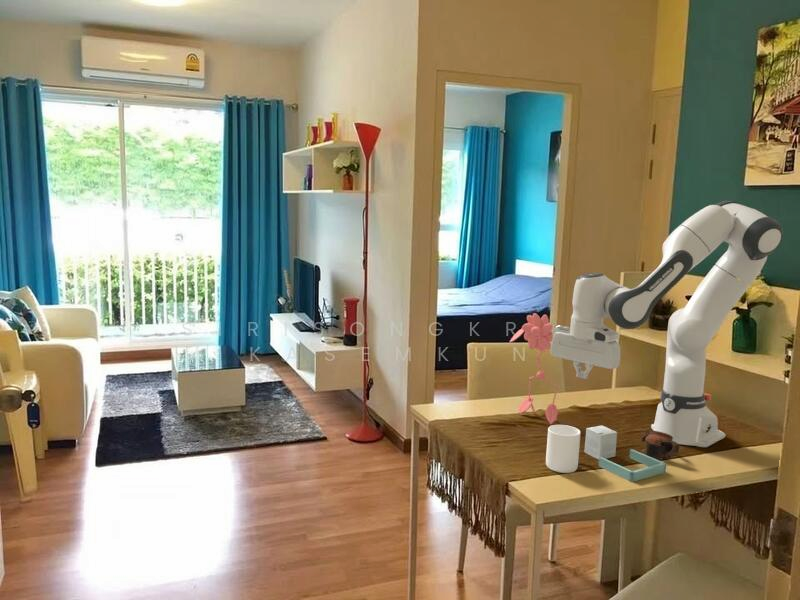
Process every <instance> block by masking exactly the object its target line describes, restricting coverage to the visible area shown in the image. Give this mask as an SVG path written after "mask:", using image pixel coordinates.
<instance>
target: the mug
mask: <svg viewBox="0 0 800 600" xmlns="http://www.w3.org/2000/svg"><path fill="white" fill-rule="evenodd" d="M547 430H548V431H547V439H546V442H547V443H546V453H545V465H546V467H547V468H548V470H551V471H552V472H557V473H560V474H571V473H574V472H576V470H577V469H578V468H579V456H580V443H581V430H580V429H578V428H577V427H574V426H572V425H571V426H570V425H567V424H566V425H565V424H553V425H552V424H551V425H550V426H549V427H547Z"/></svg>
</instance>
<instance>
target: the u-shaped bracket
mask: <svg viewBox="0 0 800 600" xmlns="http://www.w3.org/2000/svg"><path fill="white" fill-rule="evenodd" d="M629 459H631V460H632V461H633V460H634V461H636V462H638V463H640V464H642V465H645V466H646V467H643V468H640V469H636V470H632V469H628V468H626V467H624V466H622V465H620V464H617V463H615V462H613V461H611V460H608V458H606V459H605V458H602V457H599V460H598V467H599V468H602V469H604V470H607V471H609V472H611V473H612V474H614V475H617V476H619V477H621V478H623V479H625V480H626V481H630V482H631V483H634V482H637V481H640V480H643V479H644V480H645V479H647V478H650V477H654V476H657V475H661V474H665V473H666V470H667V463H665V462H664V461H662V462H661V461H659V460H656V459H654V458H652V457H649V456H647V455H644V454H642V453H641V451H640V452H639V451H637V450H635V449H634V448H633V449H629Z"/></svg>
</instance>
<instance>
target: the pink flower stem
mask: <svg viewBox="0 0 800 600" xmlns="http://www.w3.org/2000/svg"><path fill="white" fill-rule="evenodd" d="M549 319H550V318H549V317H548V315H547V314H543V315H542V316H541V317H540V316H539V315H538V314H537V313H536V312H534V313H532V315H531V314H528V315H527V316H526V320H527V321H526V322H527V323H524V324H523V325H522V326H521V329H519V330H518V331H517V332H516V333H515V334H514V335H513V336H512V337H511V338H510V340H509V343H513V342H515V341H516V340H517V339H518V338H520V337H521V336H522V335H523V338H524V340H525V341H527V344H528V348H529V349H530V350H534V349H535V350H538V351H539V352H538V353H537V354H536V359H537V360H536V361H537V365H538V369H539V371H537V372H536V374H535V375H534V376H530V377H529V379H528V396H527V397H526V398H525V399H523V401H522V402H521V403H520V405H519V406H518V413H517V414H518V415H520V414H523V413H525V412H526V411H527V410H529V409H530V408H531V410H532V413H533V414H535V412H536V411H535V409H534V408H535V407H534V405H533V401H534V397H533V396H531V379H532V378H536V377H537V379H538V380H545V381H547V382H549V383H550V384H552V385H554V387H555V386H556V388H555V391H554V396H553V401H552V402H551V404H548V406H547V407H546V409H545V417H546V420H547V421H548V423H549V424H550V425H552V424H553V423H554V422H556V421H558V416H559V414H558V413H559V411H558V408H557V407H558V406H557V405H555V400H556V395H557V391H558V385H557V384H555V383H554V382H553V381H551V380H549V379H548V378H546V373H545V372H544V371H543V370H541V365H540V359H539V356H540V355H542V354H543V353H544V352H545V351H547V350H550V348H551V343H550V342H552V339H553V325H552V323H550V321H549ZM511 423H512V424H514V425H516V426H517V427H522V428H525V429H527V427H526V426H522V425H519V424H516V423H514V422H513V421H511ZM528 429H530V430H532V428H530V427H528ZM533 431H538V429H535V428H533ZM541 431H545V432H546V431H547V432H548V429H541Z"/></svg>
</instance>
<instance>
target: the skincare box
mask: <svg viewBox="0 0 800 600" xmlns="http://www.w3.org/2000/svg"><path fill="white" fill-rule="evenodd" d="M617 438H618V431H615V430H613V429H611V428H608V427H607V426H604V425H597V426H591V427H586V429H585V440H584V441H585V442H584V453H585V454H586V455H589V456H591V457H592V458H594V459H597V460H598V461H599V457H602V458H605V459H611V458H614V457H616V453H617V452H616V451H617V450H616V449H617Z"/></svg>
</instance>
